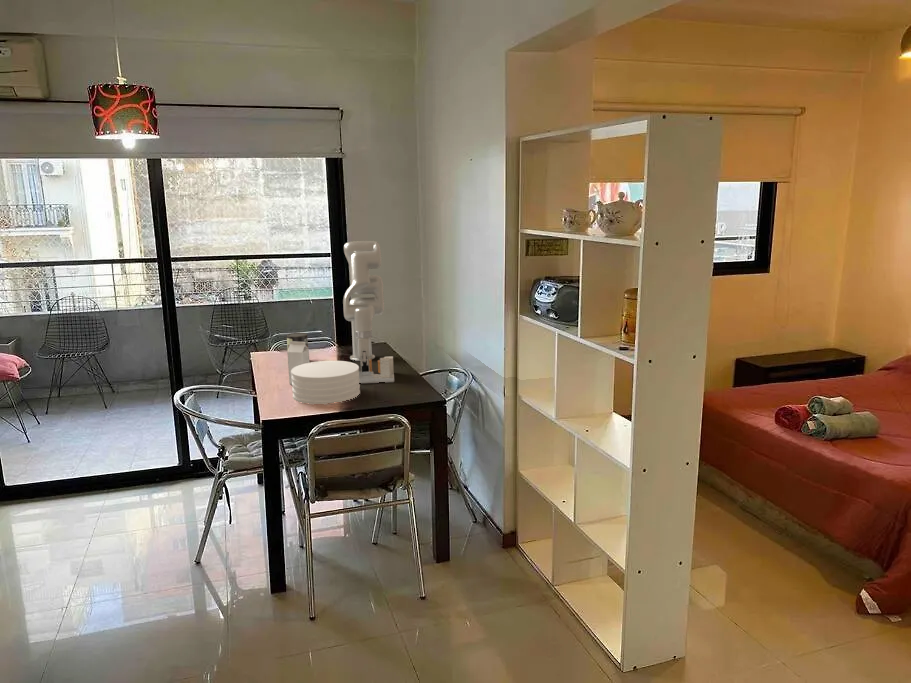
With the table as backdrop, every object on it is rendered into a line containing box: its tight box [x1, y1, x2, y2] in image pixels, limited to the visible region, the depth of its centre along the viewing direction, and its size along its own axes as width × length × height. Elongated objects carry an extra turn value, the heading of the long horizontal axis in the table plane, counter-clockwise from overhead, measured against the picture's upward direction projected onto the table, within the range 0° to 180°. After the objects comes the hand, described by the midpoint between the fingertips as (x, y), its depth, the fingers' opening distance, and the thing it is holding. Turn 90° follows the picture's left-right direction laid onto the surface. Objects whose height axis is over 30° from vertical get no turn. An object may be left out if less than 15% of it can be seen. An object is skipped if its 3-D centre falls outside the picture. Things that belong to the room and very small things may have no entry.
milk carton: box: [287, 341, 310, 385], centre depth 304 cm, size 7×7×19 cm
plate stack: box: [291, 360, 361, 405], centre depth 287 cm, size 28×28×12 cm
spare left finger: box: [383, 356, 395, 374], centre depth 319 cm, size 4×5×8 cm
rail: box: [359, 357, 395, 384], centre depth 307 cm, size 8×24×10 cm, turn 96°
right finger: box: [359, 358, 373, 372], centre depth 317 cm, size 4×5×8 cm
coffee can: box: [286, 332, 309, 350], centre depth 343 cm, size 10×10×14 cm
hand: (365, 372), depth 318 cm, fingers closed on right finger, 4 cm apart
